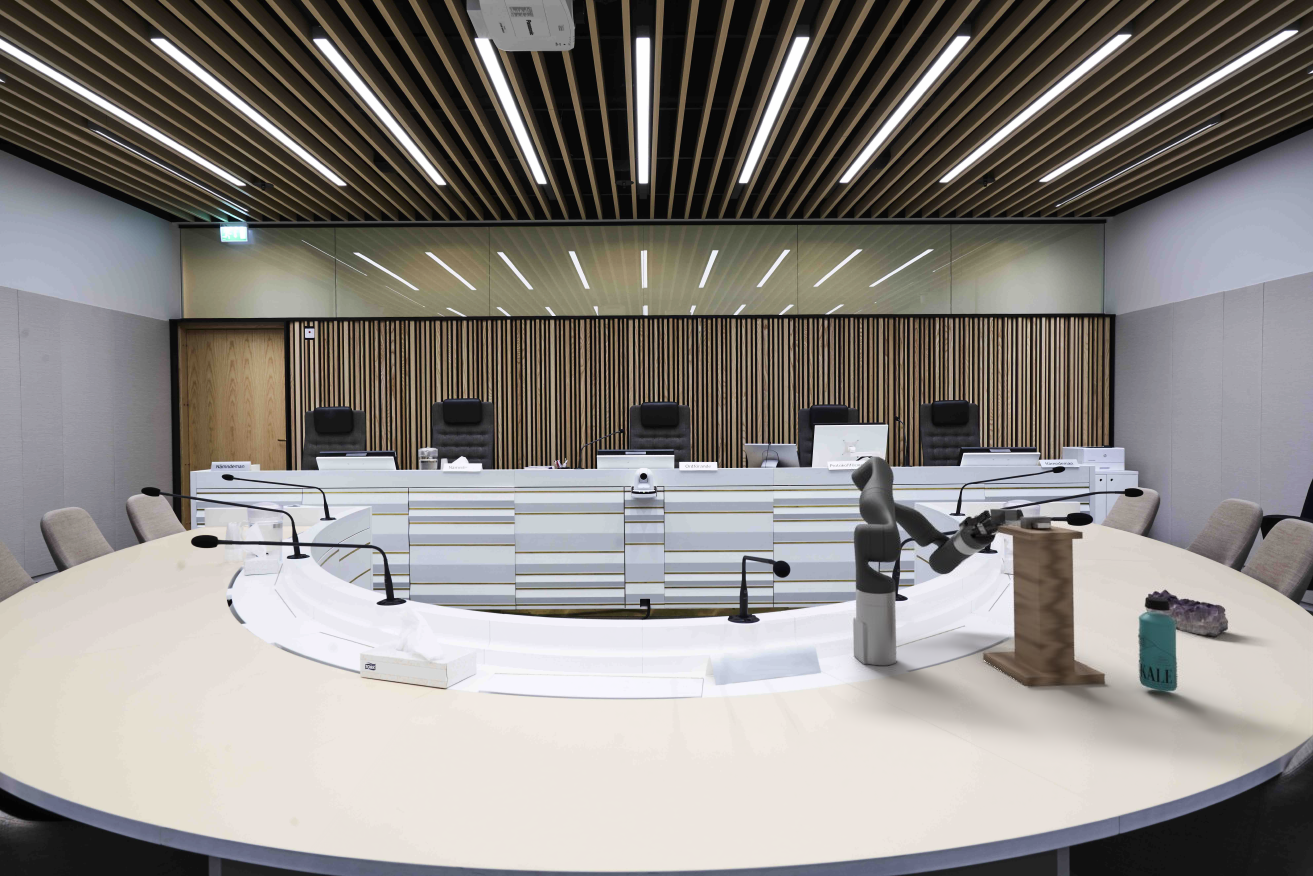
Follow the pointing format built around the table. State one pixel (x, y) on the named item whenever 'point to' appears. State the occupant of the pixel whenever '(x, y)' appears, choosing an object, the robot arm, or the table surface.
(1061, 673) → the walnut pedestal
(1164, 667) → the beverage bottle
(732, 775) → the table surface
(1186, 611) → the geode
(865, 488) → the robot arm
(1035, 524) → the steel bar
